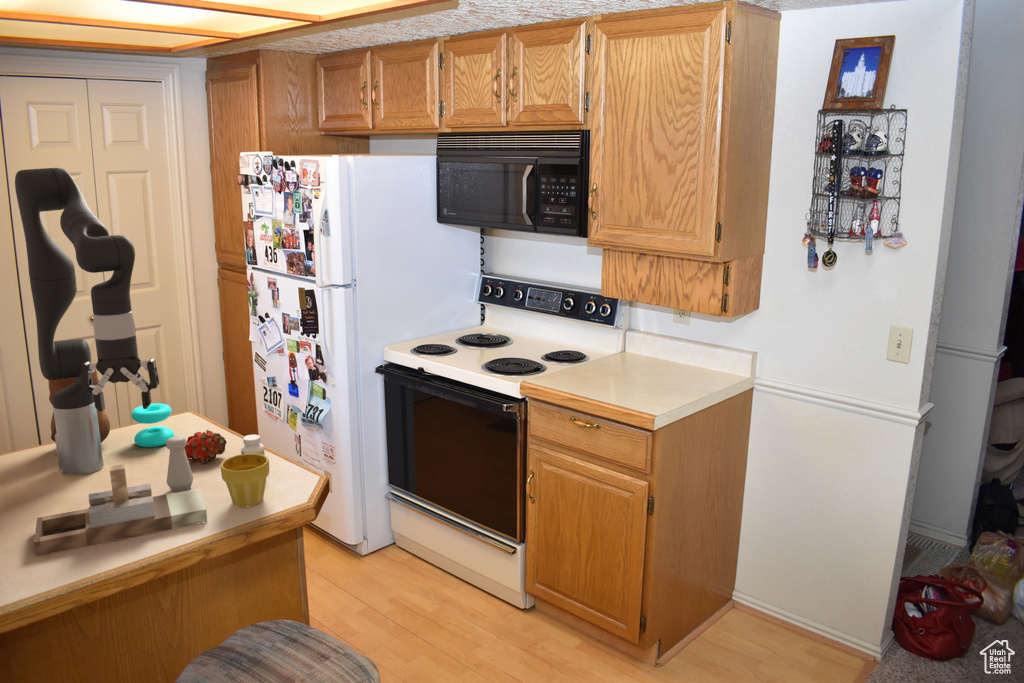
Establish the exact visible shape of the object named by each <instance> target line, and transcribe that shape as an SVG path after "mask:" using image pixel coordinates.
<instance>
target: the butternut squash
mask: <svg viewBox="0 0 1024 683" xmlns="http://www.w3.org/2000/svg"><path fill="white" fill-rule="evenodd" d="M91 363H93V361H91ZM97 371H98V370H97V369H94V372H93V373H92V380H93V385H94V386H96V385H97V384H98V382H99V381H100V380H99V376H98V375H99V374H98V372H97ZM76 379H77V377H72V378H64V379H62V378H61V379H57V380H47V381H48V389H49V397H48V400H49V402H50V404H51V406H53V404H52V396H53V395H54V394H55V393H56V392H58V391H60V390H62V389H64V388H66V387H68V386H70V385H71V384H72V383H74V382H75V381H76ZM96 410H97V417H98V425H99V433H100V441H101V444H102V443H103V442H104V441H105V440H106V439H107V438H108V436H109V434H110V432H111V431H110V430H111V424H110V422H111V421H110V419H109V416H108V414H107V412H106V411H105V410H104V411H100V412H99V410H98V409H96ZM52 411H53V410H52ZM50 431H51V434H50V439H51V440H52V441H53V442H54V443H56V441H55V434H56V433H57V431H56V424H55V418H54V411H53V412H52V416H51V422H50Z"/></svg>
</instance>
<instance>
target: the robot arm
mask: <svg viewBox="0 0 1024 683" xmlns="http://www.w3.org/2000/svg"><path fill="white" fill-rule="evenodd" d="M14 188H15V195H16V199H17V205H18V209H19V214H20V219H21V220H20V221H21V223H22V228H23V234H24V239H25V240H24V241H25V248H26V255H27V266H28V267H27V268H28V276H29V283H30V284H29V285H30V291H31V295H32V296H31V297H32V301H33V302H32V303H33V306H34V312H35V320H36V321H35V322H36V333H37V350H38V352H37V353H38V361H39V367H40V372H41V374H42V376H43V378H44V379H45V380H47V381H48V380H57V379H61V378H62V379H64V378H72V377H77V379H76V381H75V382H74V383H72V384H71V385H70V386H68V387H66V388H64V389H62V390H60V391H58V392H56V393H55V394H54V395H53V396H52V404H53V405H52V404H51V405H52V409H53V410H52V411H54V418H55V424H56V431H57V433H56V434H55V441H56V442H55V446H56V448H55V449H56V452H57V453H56V454H57V455H56V456H57V461H58V467H59V471H61V473H62V474H64V475H66V476H82V475H88V474H91V473H95V472H97V471H99V470H100V469H102V468H103V467H104V458H103V449H102V443H101V441H100V433H99V425H98V417H97V410H96V409H98V410H99V412H100V411H105V410H106V405H105V396H104V391H102V390H103V389H104V387H105V386H106V385H107V383H108V382H110V383H111V384H115V383H116V384H117V383H129V382H130V381H131V383H132V384H133V385H135V386H137V387H138V388H139V389H140V390H141V394H140V396H141V403H142V405H143V409H147V408H148V407H149V406H150V404H152V393H151V390H155V389H157V388H158V386H159V385H160V378H159V374H158V373H159V372H158V367H157V361H156V359H155V358H152V357H151V358H150V359H146V360H141V359H140V357H139V353H138V343H137V334H136V332H137V328H136V325H135V319H134V316H133V312H132V311H133V310H132V302H131V281H132V275H133V271H134V266H135V260H136V250H135V246H134V244H133V242H132V241H131V239H129V238H128V237H127V236H125V235H120V234H118V235H117V234H116V235H115V234H114V235H110V234H109V230H108V228H107V227H106V226H105V225H104V224H103V222H101V220H100V219H99V218H98V217H97V216H96V215H95V214H94V212H93V211H92V210H91V209H90V207H89V205H88V204H87V201H86V199H85V197H84V195H83V193H82V191H81V190H80V188H79V186H78V184H77V182H76V181H75V179H74V178H73V176H72V175H71V173H69V172H68V171H67V170H66V169H64V168H62V167H49V168H48V167H47V168H46V167H44V168H42V167H41V168H31V169H30V168H29V169H28V168H27V169H21V170H19V171H17V172H16V173H15V176H14ZM62 210H63V211H62ZM52 211H62V213H61V215H60V218H59V222H60V223H59V224H60V229H61V230H62V232H63V234H64V235H65V236H66V238H67V239H68V240H69V241H70V242H71V244H72V245H73V248H74V250H75V258H76V263H77V265H78V266H79V268H80V269H82V270H83V271H85V272H87V273H91V274H92V273H93V274H96V273H105V272H107V273H108V272H113V273H112V275H111V277H110V278H109V279H108V280H106V281H103V282H100V283H96V284H95V285H93V286H92V287H91V290H90V298H91V304H92V305H91V306H92V312H93V313H92V314H93V322H92V324H93V334H94V343H95V350H96V357H97V362H92V354H91V349H90V346H89V345H90V344H89V343H88V341H87V340H86V339H83V338H73V339H66V340H56V341H54V339H55V335H56V332H57V328H58V326H59V324H60V322H61V320H62V318H64V315H65V314H66V313H67V311H68V309H69V308H70V307H71V305H72V303H73V301H74V299H75V298H76V294H77V291H78V290H77V289H78V288H77V277H76V269H75V265H74V262H73V260H72V259H71V258H70V256H69V255H68V254H67V253H66V252H65V251H64V250H63V248H62V247H60V246H59V244H58V243H57V242H56V241H55V240H54V239H53V238H52V237H51V235H49V232H47V230H46V228H45V227H44V225H43V223H42V220H41V215H40V213H41V212H52ZM91 362H92V363H91ZM141 367H142V368H143V369H144V370H145V371H146V372H147V373H148V379H149V382H148V381H147V379H146V378H145V377H144V376H143V374H141V373H140V372H139V370H140V369H141ZM94 369H96V371H98V372H99V373H100V374H101V375H102V376H101V378H100V380H99V382H98V384H97V385H96V386H94V385H93V380H92V373H93V372H94Z"/></svg>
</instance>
